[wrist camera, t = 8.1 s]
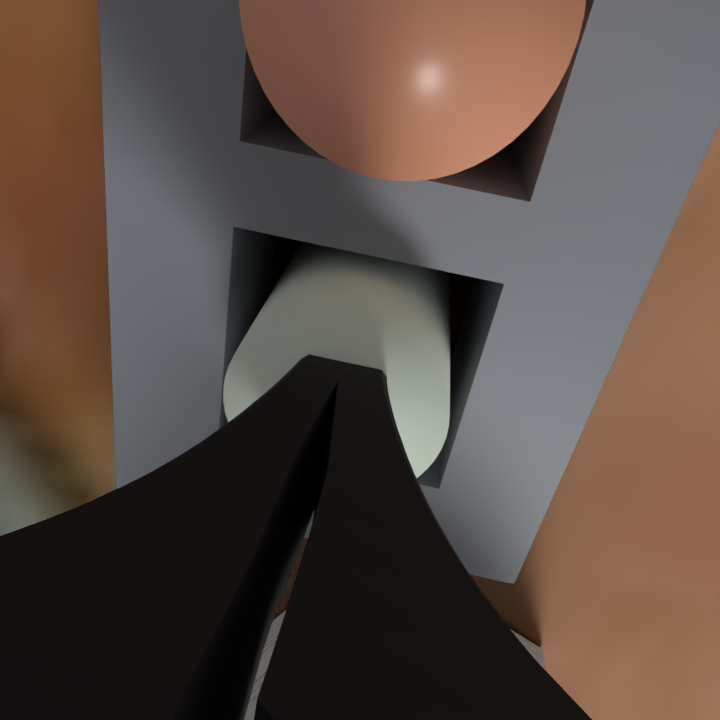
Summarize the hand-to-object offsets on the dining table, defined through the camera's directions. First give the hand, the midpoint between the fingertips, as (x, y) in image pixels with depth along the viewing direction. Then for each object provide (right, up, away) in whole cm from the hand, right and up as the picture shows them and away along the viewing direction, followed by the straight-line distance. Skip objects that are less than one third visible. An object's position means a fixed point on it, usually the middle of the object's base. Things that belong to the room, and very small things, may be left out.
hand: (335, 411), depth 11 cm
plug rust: (+2, +7, 0) cm, 7 cm away
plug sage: (+1, +2, +4) cm, 5 cm away
